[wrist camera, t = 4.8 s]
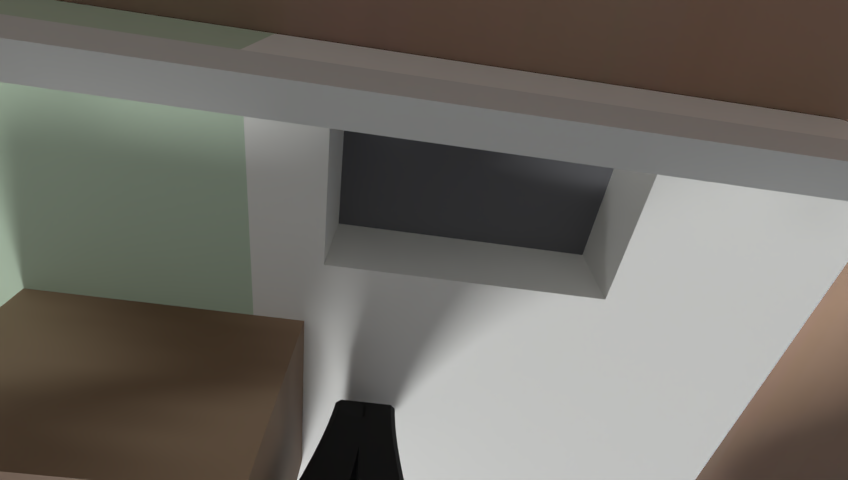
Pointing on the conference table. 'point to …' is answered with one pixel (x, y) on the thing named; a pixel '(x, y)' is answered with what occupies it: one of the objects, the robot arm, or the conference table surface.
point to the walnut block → (146, 391)
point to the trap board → (428, 230)
